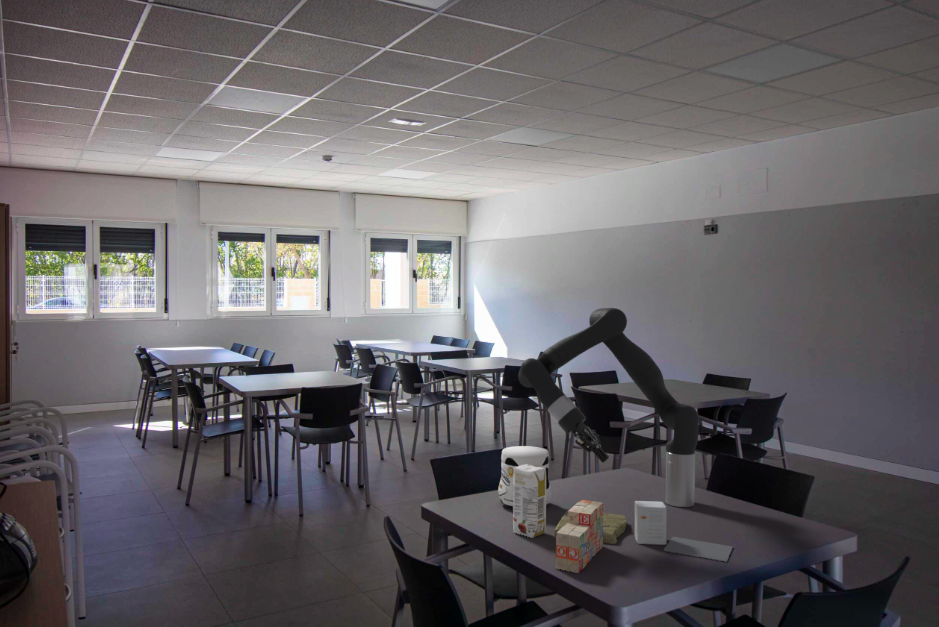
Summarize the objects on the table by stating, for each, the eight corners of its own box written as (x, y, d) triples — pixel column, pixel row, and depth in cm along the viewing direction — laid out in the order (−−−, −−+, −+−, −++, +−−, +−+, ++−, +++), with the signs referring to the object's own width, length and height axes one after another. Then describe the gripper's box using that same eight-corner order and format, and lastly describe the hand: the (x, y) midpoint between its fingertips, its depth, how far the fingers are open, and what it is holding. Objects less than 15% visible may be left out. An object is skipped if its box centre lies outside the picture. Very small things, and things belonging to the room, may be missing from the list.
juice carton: (533, 540, 188) (533, 472, 188) (509, 532, 194) (509, 467, 193) (549, 533, 193) (549, 467, 193) (525, 526, 199) (525, 462, 199)
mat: (672, 537, 191) (672, 536, 191) (732, 547, 183) (732, 546, 183) (663, 551, 180) (663, 549, 180) (726, 562, 173) (726, 561, 173)
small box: (662, 538, 190) (663, 501, 190) (666, 545, 185) (667, 507, 185) (634, 537, 191) (634, 500, 191) (636, 544, 186) (637, 506, 185)
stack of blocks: (579, 574, 165) (579, 524, 164) (554, 569, 167) (555, 520, 167) (603, 546, 184) (603, 501, 183) (581, 542, 186) (581, 498, 186)
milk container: (487, 504, 221) (487, 450, 221) (523, 495, 233) (523, 443, 232) (526, 517, 208) (526, 459, 208) (562, 506, 220) (562, 451, 220)
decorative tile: (553, 538, 191) (553, 526, 191) (567, 517, 209) (567, 506, 209) (620, 547, 184) (620, 534, 184) (628, 525, 203) (628, 513, 203)
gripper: (567, 409, 193) (608, 456, 187) (582, 403, 204) (621, 448, 198) (549, 425, 195) (589, 473, 189) (565, 419, 207) (604, 463, 201)
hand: (606, 460), depth 194 cm, fingers closed
